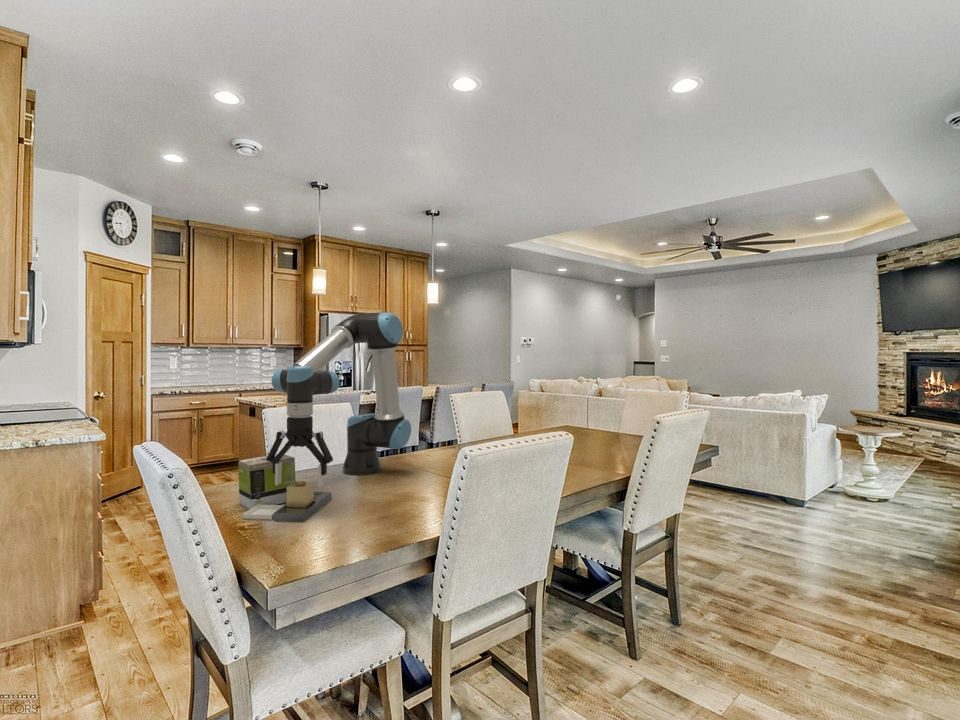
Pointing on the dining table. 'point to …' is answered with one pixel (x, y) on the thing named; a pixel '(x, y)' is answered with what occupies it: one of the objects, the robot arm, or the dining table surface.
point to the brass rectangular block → (300, 495)
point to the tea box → (264, 481)
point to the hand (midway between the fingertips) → (299, 484)
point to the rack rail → (302, 514)
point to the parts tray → (262, 512)
